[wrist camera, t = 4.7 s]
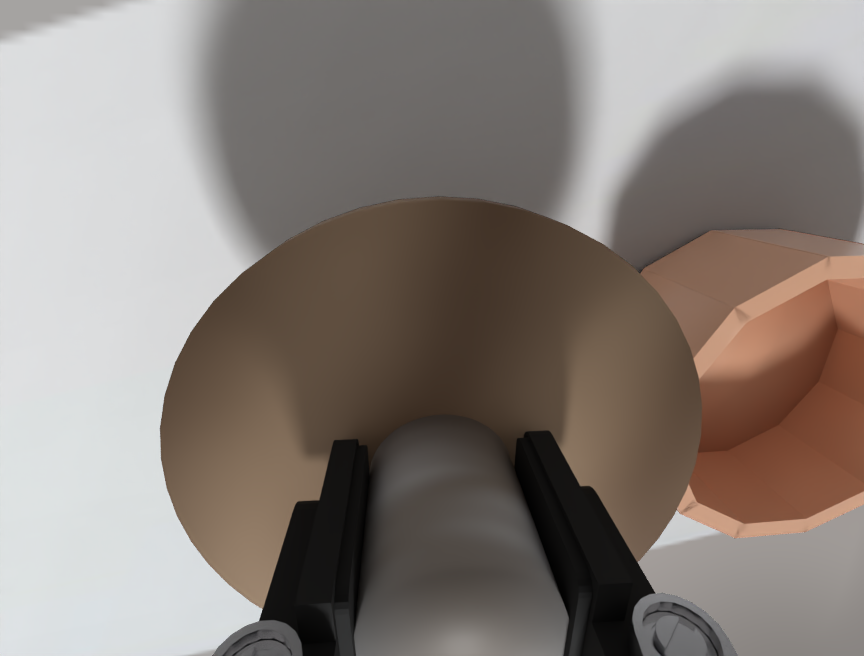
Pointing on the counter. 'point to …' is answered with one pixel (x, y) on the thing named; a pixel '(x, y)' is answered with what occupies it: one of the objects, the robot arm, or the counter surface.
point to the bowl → (772, 376)
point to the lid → (431, 412)
